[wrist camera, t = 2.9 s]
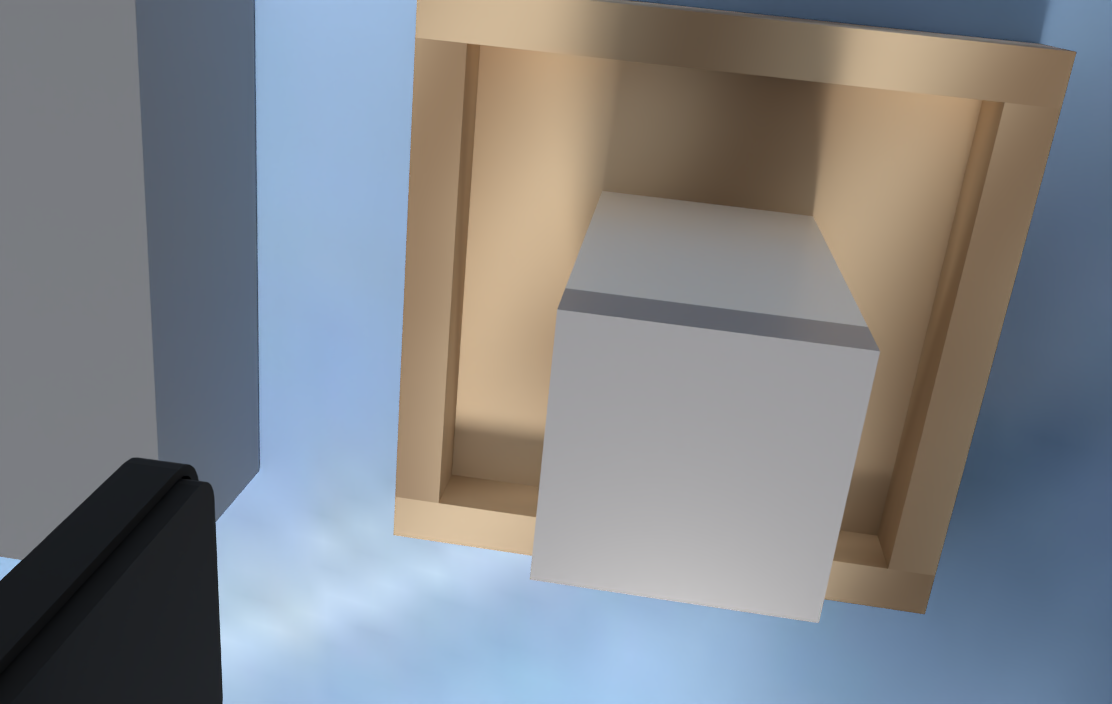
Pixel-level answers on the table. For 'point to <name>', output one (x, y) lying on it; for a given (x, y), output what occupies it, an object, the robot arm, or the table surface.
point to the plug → (702, 409)
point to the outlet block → (125, 250)
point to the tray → (723, 179)
